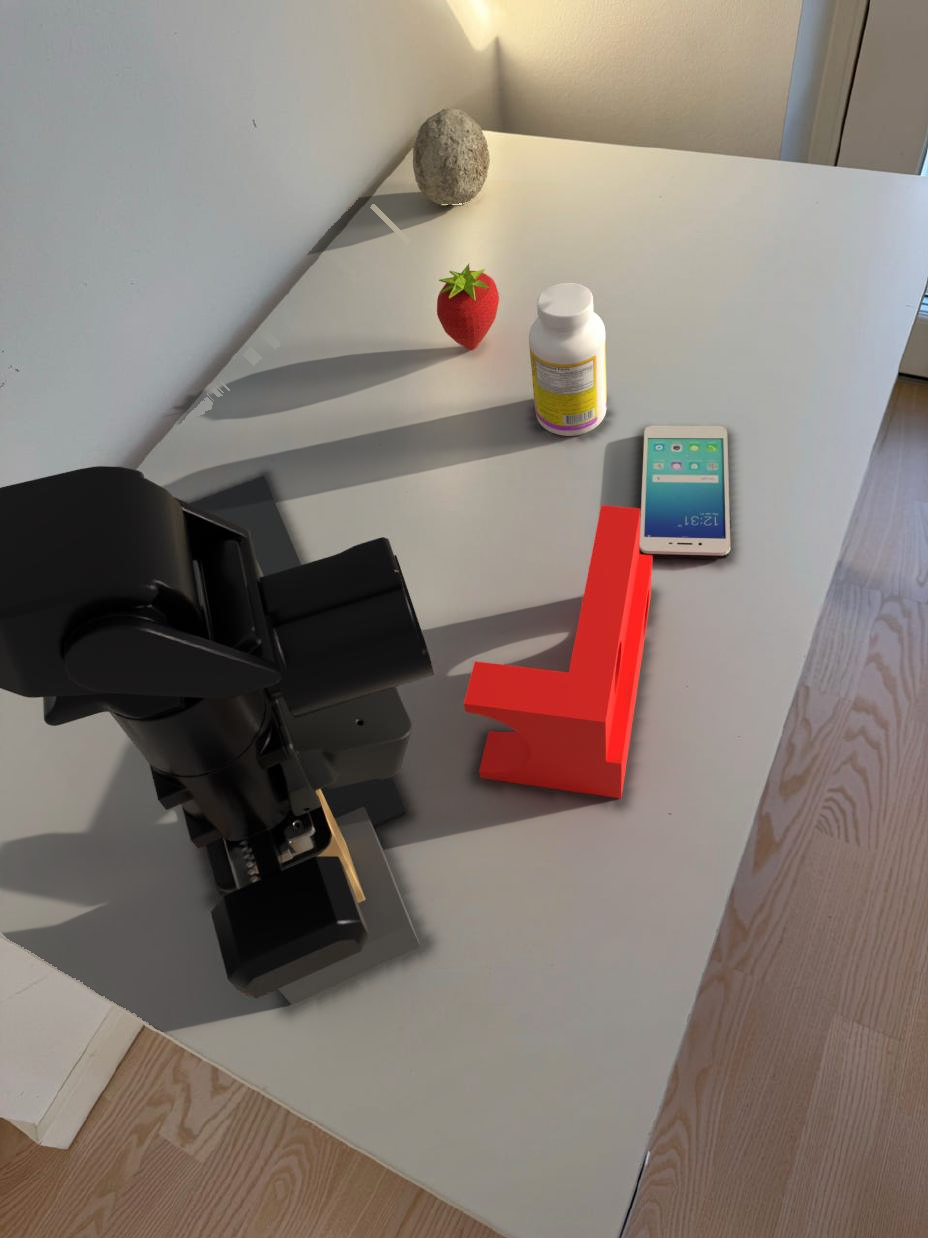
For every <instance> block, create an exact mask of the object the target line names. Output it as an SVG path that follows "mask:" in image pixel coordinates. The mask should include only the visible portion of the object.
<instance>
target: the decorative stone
mask: <svg viewBox="0 0 928 1238" xmlns="http://www.w3.org/2000/svg"><path fill="white" fill-rule="evenodd" d="M488 146H489V145H488V142H487V139H486V136H485V134H484V132H483V130H482V128H481V126H480V125H479V124H478V123H477V122H476V120H474V119H473V118H472V117H471V116H470V115H468V114H467V113H466V112H465V111H464V110H462V109H460V108H457V107H454V108H453V107H450V108H448V107H447V108H443V109H442V110H440V111H438V112H437V113H435V114H433V115H431V116H430V117H428V118H427V119H426V120H425V121H424V122H423V123H422V124H421V126H420V127H419V129H418V130H417V136H416V139H415V142H414V145H413V147H412V169H413V173H414V178H415V179H414V180H415V182H416V184H417V187H418V189H419V191H420V192H421V193H422V194H423V195H424V196H425V197H426V198H427V199H428V200H429V201H432V202H433V203H434V202H435V204H436V203H437V204H436V205H438V204H448V205H452V204H459V203H462V204H463V203H465V202H468V201H469V202H471V201H472V200H473V199H475V198H476V197H477V195H478V194H479V193H480V192H481V191H482V189H483V187H484V185H485V182H486V180H487V178H488V174H489V173H488V170H489V166H490V161H491V159H490V151H489V148H488ZM471 199H472V200H471ZM470 200H471V201H470ZM469 202H468V203H469ZM464 205H465V204H463V205H453V206H452V207H460V206H464ZM440 206H441V207H447V206H446V205H440Z"/></svg>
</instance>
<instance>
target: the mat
mask: <svg viewBox="0 0 928 1238" xmlns="http://www.w3.org/2000/svg"><path fill="white" fill-rule="evenodd" d="M189 504H192V505H194V506H196V507H198V508H201V509H203V510H205V511H207V512H210V513H212V514H214V515H217V516H219V517H221V518H223V519H226V520H228V521H230V522H233V523H235V524H237V525H239V526H242V527H244V528H246V529H248V530H249V531H250V533H251V537H252V542H253V547H254V551H255V556H256V560H257V562H258V564H259V566H260V569H261V571H262V573H263V575H264V576H266V575H269V574H273V573H276V572H279V571H283V570H286V569H290V568H293V567H296V566H300V565H302V562H301V560H300V558H299V555H298V553H297V551H296V548H295V546H294V543H293V541H292V538H291V536H290V534H289V531H288V529H287V527H286V524H285V523H284V520H283V517H282V515H281V512H280V510H279V508H278V506H277V503H276V500H275V499H274V496H273V493H272V491H271V489H270V487H269V484H268V482H267V480H266V477H265V475H261V476H259V477H256V478H254V479H251V480H249V481H246V482H243V483H240V484H238V485H235V486H233V487H230V488H227V489H225V490H222V491H219V492H217V493H214V494H211V495H209V496H205V497H203V498H200V499H198V500H195V501H193V502H190V503H189ZM193 565H194V571H195V577H196V583H197V590H198V596H199V602H200V605H202V606H203V604H202V598H201V591H200V585H199V579H198V573H197V567H196V561H193ZM321 791H322V794H323V796H324V798H325V800H326V802H327V804H328V806H329V808H330V811H331V813H332V815H333V817H334V819H336V818H338V817H341V816H343V815H345V814H348V813H350V812H352V811H355V810H357V809H359V808H362V807H365V809H366V811H367V814H368V816H369V818H370V820H371V822H372V825H373V827H374V828H376V827H378V826H381V825H384V824H385V823H388V822H390V821H393V820H394V819H398V818H399V817H401V816H404V815H406V814H407V811H406V809H405V807H404V805H403V802H402V800H401V797H400V795H399V793H398V790H397V788H396V785H395V783H394V781H393V777H390V778H386V779H378V778H377V779H372V780H367V781H363V782H358V783H354V784H350V785H345V786H341V787H336V788H330V789H326V788H321ZM205 849H206V848H205ZM206 851H207V849H206ZM208 861H209V862H210V860H209V859H208ZM215 886H216V890H217V893H218V895H223V894H226V892H225V891H223V890H221V889H220V888H219V887H218V886H217V885H216V884H215Z"/></svg>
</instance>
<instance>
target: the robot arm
mask: <svg viewBox="0 0 928 1238" xmlns="http://www.w3.org/2000/svg"><path fill="white" fill-rule="evenodd" d="M393 551H394V550H393V548H392V545H391V542H390V539H389V538H387V537H384V536H382V537H381V536H380V537H378V538H374V539H372V540H368V541H365V542H360V543H359V544H356V545H353V546H351V547H349V548H347V549H345V550H343V551H341V552H338V553H335V554H333V555H329V556H327V557H322V558H320V559H317V560H313V561H310V562H306V563H304V564H303V563H302V564H301V565H300V566H296V567H293V568H290V569H286V570H283V571H279V572H276V573H273V574H269V575H266V576H264V575H263V573H262V571H261V569H260V566H259V564H258V562H257V560H256V556H255V551H254V547H253V542H252V537H251V533H250V531H249V530H248V529H246V528H244V527H242V526H239V525H237V524H235V523H233V522H230V521H228V520H226V519H223V518H221V517H219V516H217V515H214V514H212V513H210V512H207V511H205V510H203V509H201V508H198V507H196V506H194V505H192V504H190V503H189V502H187V501H184V500H182V499H180V498H178V497H176V496H173V494H171V493H170V491H169V490H168V489H166V488H165V487H163V486H161V485H159V484H158V483H155V482H154V481H151V480H150V479H148V478H146V477H145V475H144V473H143V472H142V471H140V470H137V469H133V468H128V467H123V466H111V465H110V466H109V465H105V466H104V465H98V466H89V467H84V468H77V469H74V470H70V471H66V472H62V473H56V474H52V475H47V476H43V477H40V478H35V479H30V480H27V481H22V482H18V483H13V484H10V485H9V484H8V485H5V486H0V689H1V690H4V691H6V692H10V693H11V694H15V695H18V696H21V697H23V698H24V697H25V698H28V699H29V698H30V699H31V698H32V699H33V698H42V706H43V707H42V708H43V711H42V712H43V721H44V723H45V724H46V725H48V726H50V727H57V726H58V727H59V726H61V725H64V724H68V723H72V722H74V721H77V720H81V719H84V718H87V717H91V716H94V715H97V714H100V713H101V714H102V713H109V714H110V715H111V716H112V718H113V719H114V720H115V721H116V723H117V724H118V726H119V727H120V728H121V729H122V731H123V732H124V733H125V735H126V736H127V737H128V739H129V740H130V741H131V742H132V744H133V745H134V746H135V747H136V749H137V750H138V751H139V752H140V754H141V755H142V756H143V758H144V759H145V760H146V762H147V763H148V764H149V768H150V772H151V776H152V781H153V785H154V789H155V790H154V791H155V793H156V798H157V800H158V802H159V804H161V805H162V807H163V808H164V809H165V811H168V810H171V809H174V808H175V807H178V806H180V805H181V808H182V812H183V817H184V820H185V823H186V828H187V831H188V835H189V839H190V841H191V843H192V844H193V845H194V846H195V847H196V849H197V850H199V849H201V848H203V847H205V849H207V850H206V853H207V856H208V861H209V860H210V861H209V865H210V868H211V873H212V875H213V879H214V883H215V886H216V885H217V886H218V887H219V888H220V889H221V890H223V891H225V894H224V895H223V896H222V897H221V898H220V899H219V900H218V901H217V903H216V904H215V905H214V906H213V908H211V910H210V916H211V919H212V920H211V921H212V924H213V927H214V931H215V935H216V939H217V943H218V947H219V950H220V955H221V958H222V962H223V966H224V970H225V974H226V978H227V981H228V982H229V983H230V984H231V985H232V986H233V987H234V988H235V989H237V991H239V993H241V994H243V995H245V996H248V997H250V998H252V999H254V1000H256V999H260V998H261V997H263V996H265V995H266V996H267V995H268V994H270V993H272V992H274V991H277V990H278V989H279V988H281V987H283V986H286V985H288V984H290V983H292V982H295V981H297V980H299V979H301V978H304V977H306V976H308V975H310V974H312V973H315V972H317V971H319V970H321V969H324V968H326V967H328V966H330V965H333V964H335V963H337V962H339V961H341V960H344V959H346V958H348V957H350V956H353V955H355V954H357V953H359V952H361V951H362V950H363V948H364V946H365V944H366V941H367V939H368V937H369V932H368V930H367V927H366V924H365V921H364V918H363V916H362V913H361V910H360V907H359V904H358V902H357V899H356V896H355V893H354V891H353V888H352V885H351V883H350V880H349V878H348V875H347V873H346V871H345V868H344V866H343V864H342V862H341V860H340V858H339V857H338V856H318V855H320V854H321V853H323V852H324V851H325V850H326V848H327V847H328V846H329V845H330V843H331V840H332V833H331V830H330V827H329V824H328V821H327V819H326V816H325V813H324V810H323V807H322V805H321V802H320V799H319V796H318V795H317V792H316V790H319V789H321V788H326V789H330V788H336V787H341V786H345V785H350V784H354V783H358V782H363V781H367V780H372V779H377V778H378V779H386V778H390V777H391V778H393V777H394V776H396V775H397V774H398V773H399V772H400V771H401V769H402V765H403V761H404V758H405V754H406V752H407V747H408V745H409V744H408V743H409V741H410V736H411V733H412V729H413V727H412V726H413V725H412V721H411V718H410V716H409V714H408V712H407V710H406V707H405V704H404V702H403V701H402V699H401V696H400V694H399V691H398V689H397V688H398V687H400V686H403V685H406V684H409V683H413V682H415V681H419V680H422V679H426V678H429V677H432V676H434V675H435V672H434V667H433V663H432V660H431V655H430V653H429V649H428V646H427V643H426V641H425V636H424V634H423V631H422V628H421V624H420V621H419V619H418V616H417V613H416V610H415V607H414V604H413V601H412V598H411V594H410V592H409V589H408V586H407V583H406V580H405V577H404V574H403V571H402V569H401V565H400V562H399V559H398V556H397V554H395V553H394V552H393ZM193 561H196V567H197V573H198V579H199V585H200V591H201V598H202V604H203V606H202V605H200V602H199V596H198V590H197V583H196V577H195V571H194V565H193ZM217 886H216V887H217Z"/></svg>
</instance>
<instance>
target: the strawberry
mask: <svg viewBox="0 0 928 1238" xmlns="http://www.w3.org/2000/svg"><path fill="white" fill-rule="evenodd" d="M485 270H486V268H484V269H480V270H471V269H470V263H468V264H467V265H466V267H464V269H463V270H462V271H461V272H458V271H453V270H449V271H448V273H450V274H451V275H452V277H446V278H440V279H438V282H441V283H444V285H443V287H442V288H441V290H439V292H438V295H437V299H436V314H437V315H436V316H437V319H438V320H439V323H440V324H441V327H442V328H443V330H444V332H445V334H446V335H447V336H449V337H450V339H452V340H453V341H454V342H455V343H457V344H458V345H460V346H462V347H464V348H465V349H466V350H468V351H474V350H475V349H477V348H478V347H479V345H480V344H481V342H482V341H483V339H485V337H486V335H487V334H488V333H489V331H490V329H491V327H492V325H493V324H494V322H495V321H496V317H497V313H498V308H499V301H500V293H499V291H498V287H497V284H496V281H495V280H494V279H493V278H492V277H491V276H490V275H488V274H486V273H485V272H484V271H485Z"/></svg>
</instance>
